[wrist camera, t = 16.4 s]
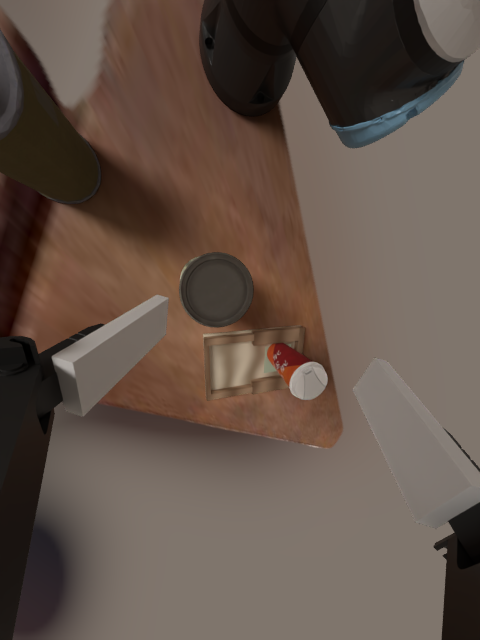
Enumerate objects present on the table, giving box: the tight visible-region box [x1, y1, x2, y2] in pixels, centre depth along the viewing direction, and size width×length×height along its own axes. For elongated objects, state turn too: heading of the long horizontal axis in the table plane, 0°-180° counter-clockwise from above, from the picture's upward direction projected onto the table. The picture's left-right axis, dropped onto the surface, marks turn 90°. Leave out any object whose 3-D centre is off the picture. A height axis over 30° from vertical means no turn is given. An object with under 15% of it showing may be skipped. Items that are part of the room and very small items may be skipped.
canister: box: [0, 30, 101, 204], centre depth 20 cm, size 11×10×20 cm
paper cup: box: [267, 343, 328, 400], centre depth 43 cm, size 8×8×14 cm
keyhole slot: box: [203, 325, 305, 401], centre depth 48 cm, size 24×16×2 cm, turn 90°
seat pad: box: [264, 344, 291, 373], centre depth 50 cm, size 7×7×1 cm
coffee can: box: [179, 252, 254, 327], centre depth 34 cm, size 10×10×14 cm
